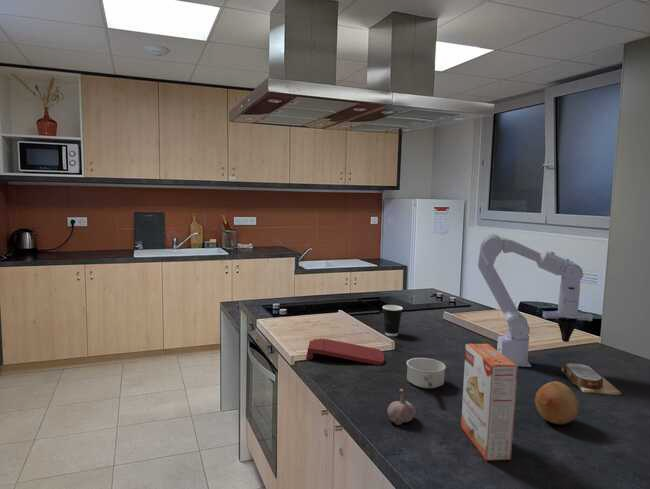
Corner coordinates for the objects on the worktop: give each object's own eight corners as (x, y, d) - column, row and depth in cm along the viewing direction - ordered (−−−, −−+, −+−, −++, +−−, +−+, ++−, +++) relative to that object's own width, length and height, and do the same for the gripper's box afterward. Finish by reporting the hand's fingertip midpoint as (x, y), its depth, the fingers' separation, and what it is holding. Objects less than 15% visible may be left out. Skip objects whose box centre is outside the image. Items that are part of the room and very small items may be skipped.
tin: (576, 387, 134) (607, 392, 133) (578, 377, 134) (609, 382, 132) (559, 369, 149) (587, 373, 148) (560, 359, 149) (589, 363, 147)
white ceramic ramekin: (407, 402, 123) (408, 381, 123) (404, 373, 143) (405, 356, 143) (451, 406, 122) (452, 385, 121) (442, 377, 142) (443, 359, 141)
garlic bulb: (395, 429, 108) (397, 396, 108) (379, 415, 115) (381, 384, 114) (422, 424, 111) (424, 392, 111) (405, 411, 118) (407, 380, 117)
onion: (576, 436, 108) (580, 394, 107) (530, 423, 113) (533, 384, 112) (579, 419, 116) (582, 381, 115) (536, 408, 121) (539, 372, 120)
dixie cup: (401, 332, 187) (403, 305, 186) (401, 338, 179) (402, 310, 178) (381, 330, 188) (383, 304, 187) (380, 336, 180) (381, 308, 179)
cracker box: (458, 428, 110) (464, 342, 108) (483, 427, 110) (489, 342, 108) (484, 462, 96) (490, 364, 94) (511, 461, 97) (519, 364, 94)
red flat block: (379, 363, 162) (308, 349, 163) (382, 349, 162) (311, 335, 163) (382, 377, 150) (305, 361, 151) (385, 362, 150) (308, 347, 150)
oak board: (583, 392, 133) (583, 389, 133) (561, 370, 150) (561, 368, 150) (620, 395, 132) (621, 392, 132) (594, 372, 149) (594, 370, 149)
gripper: (549, 301, 146) (546, 343, 147) (598, 303, 144) (594, 346, 145) (541, 296, 153) (538, 336, 154) (588, 299, 151) (584, 339, 152)
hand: (565, 340), depth 150 cm, fingers closed
